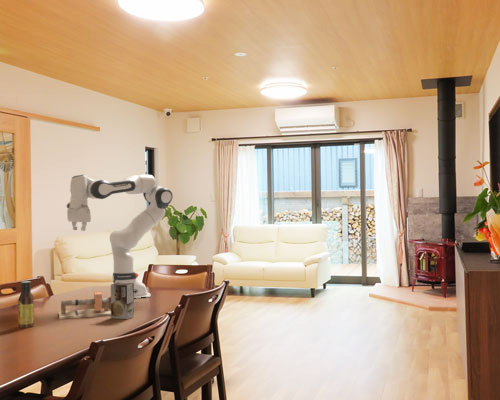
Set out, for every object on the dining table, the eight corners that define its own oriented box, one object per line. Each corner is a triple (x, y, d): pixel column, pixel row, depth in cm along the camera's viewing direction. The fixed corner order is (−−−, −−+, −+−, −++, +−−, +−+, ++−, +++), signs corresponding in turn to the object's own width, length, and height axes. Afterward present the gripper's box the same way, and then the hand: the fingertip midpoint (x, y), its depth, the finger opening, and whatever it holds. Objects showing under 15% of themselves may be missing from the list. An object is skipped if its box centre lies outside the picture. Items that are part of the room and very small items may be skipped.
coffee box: (134, 316, 254) (134, 283, 254) (127, 319, 248) (127, 284, 248) (117, 315, 257) (118, 282, 257) (110, 318, 251) (110, 284, 251)
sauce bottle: (21, 325, 237) (21, 280, 237) (35, 324, 237) (35, 280, 237) (16, 328, 230) (16, 282, 230) (30, 328, 231) (31, 282, 231)
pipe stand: (108, 309, 271) (108, 295, 271) (112, 315, 258) (112, 299, 258) (58, 313, 262) (58, 298, 262) (59, 319, 249) (59, 303, 249)
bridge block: (100, 307, 266) (100, 291, 266) (101, 310, 259) (101, 294, 259) (94, 308, 265) (94, 291, 265) (95, 311, 258) (95, 294, 258)
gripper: (93, 204, 283) (93, 230, 283) (75, 204, 298) (76, 229, 297) (82, 204, 278) (82, 231, 278) (65, 204, 293) (65, 230, 293)
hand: (79, 230), depth 288 cm, fingers open, 8 cm apart
